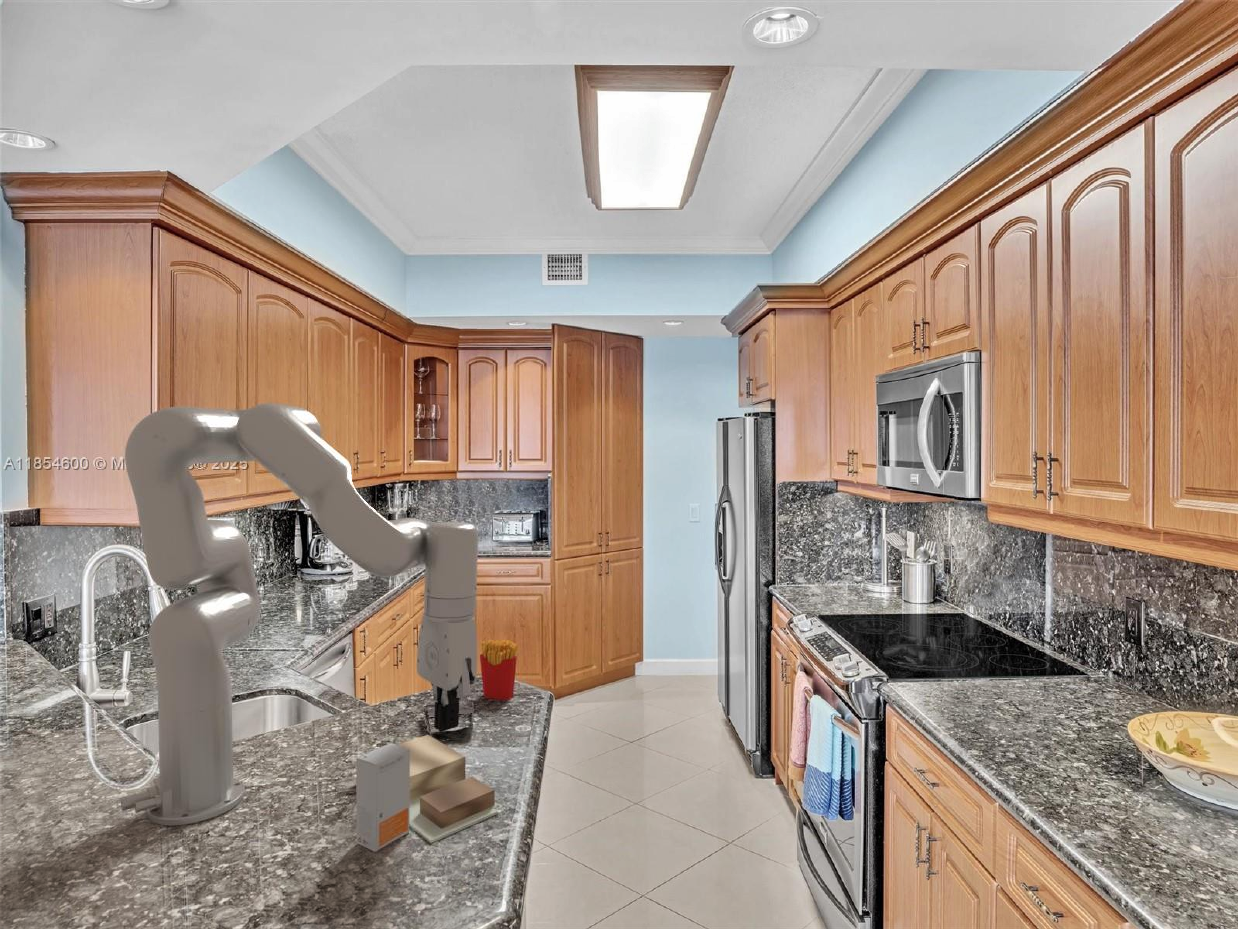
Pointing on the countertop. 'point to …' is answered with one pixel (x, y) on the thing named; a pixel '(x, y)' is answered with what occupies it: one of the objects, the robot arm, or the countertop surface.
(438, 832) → the mat
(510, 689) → the french fries
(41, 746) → the countertop surface
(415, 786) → the platform
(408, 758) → the skincare box
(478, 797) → the walnut block
